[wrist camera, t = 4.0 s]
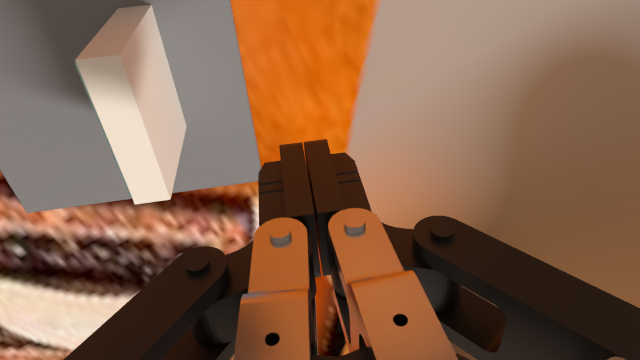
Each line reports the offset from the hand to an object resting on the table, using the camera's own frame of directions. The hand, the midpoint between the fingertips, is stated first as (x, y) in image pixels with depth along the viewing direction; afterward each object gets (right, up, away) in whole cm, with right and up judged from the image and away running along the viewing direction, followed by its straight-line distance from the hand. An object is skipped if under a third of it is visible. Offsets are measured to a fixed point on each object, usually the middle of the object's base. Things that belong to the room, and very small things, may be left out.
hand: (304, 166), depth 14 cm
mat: (-10, +5, +7) cm, 13 cm away
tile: (-7, +5, +7) cm, 11 cm away
